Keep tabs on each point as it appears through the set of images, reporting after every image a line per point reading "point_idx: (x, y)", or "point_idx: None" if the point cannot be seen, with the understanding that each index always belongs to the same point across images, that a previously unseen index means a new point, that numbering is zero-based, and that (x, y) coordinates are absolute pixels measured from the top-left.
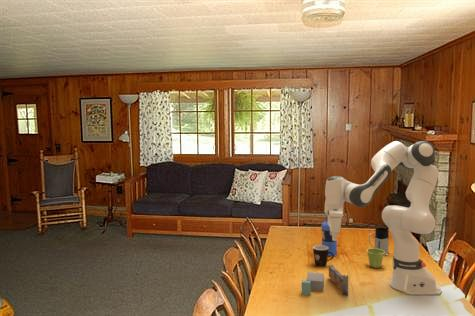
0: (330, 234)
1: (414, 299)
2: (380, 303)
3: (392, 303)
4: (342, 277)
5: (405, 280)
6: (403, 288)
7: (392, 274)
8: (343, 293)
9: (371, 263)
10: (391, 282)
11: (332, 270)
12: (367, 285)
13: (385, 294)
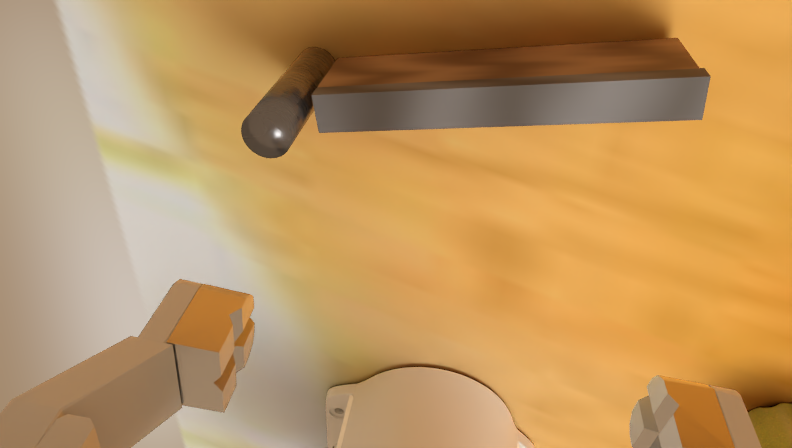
0: (663, 386)
1: (278, 384)
2: (210, 230)
3: (220, 284)
4: (352, 113)
5: (339, 446)
6: (354, 399)
7: (449, 435)
8: (301, 53)
9: (776, 425)
10: (437, 387)
11: (571, 78)
12: (465, 263)
13: (330, 299)
